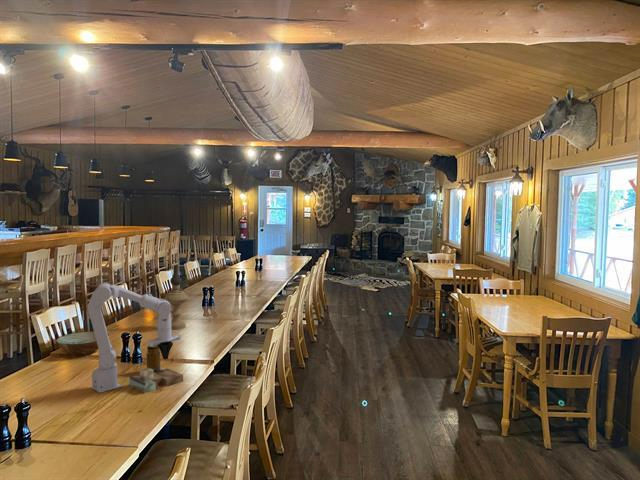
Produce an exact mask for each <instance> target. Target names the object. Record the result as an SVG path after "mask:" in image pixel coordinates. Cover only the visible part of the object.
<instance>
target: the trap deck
mask: <svg viewBox="0 0 640 480" xmlns="http://www.w3.org/2000/svg"><path fill="white" fill-rule="evenodd" d="M165 368H166V369H163V370H161V373H154V372H153V375H154V379H152V380H149V381H142V380H140V375H138V376H137V375H136V376H133V375H129V376H128V377H129V378H128V379H129V381H128V382H129V385H128V386H130V387H131V388H133V389H136V390H138V391H140V392H142V393H143V394H146V393H150V392H153V391H157V390H160V389H163V388H165V387H169V386H173V385H175V384H179V383H182V382H184V374H182V373H179V372H177V371H175V370H173V369H171V368H168V367H165Z"/></svg>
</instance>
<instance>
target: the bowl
mask: <svg viewBox="0 0 640 480" xmlns="http://www.w3.org/2000/svg"><path fill="white" fill-rule="evenodd" d="M109 336H110V334H109V333H108V337H109ZM55 342H56V344H57V345H58V346H59V347H60V348H61V349H62V350H63V351H64V352H66V353H68V354H70V355H72V356H73V355H74V356H85V354H87V355H91V354H93V353H95V352H96V351H99V350H98V344H97V341H96V337H95V333H94V330H93V331H81V332H74V333H73V332H72V333H70V334H68V333H67V334H64V335H62V336H60V337H58V338H56V339H55Z"/></svg>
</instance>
